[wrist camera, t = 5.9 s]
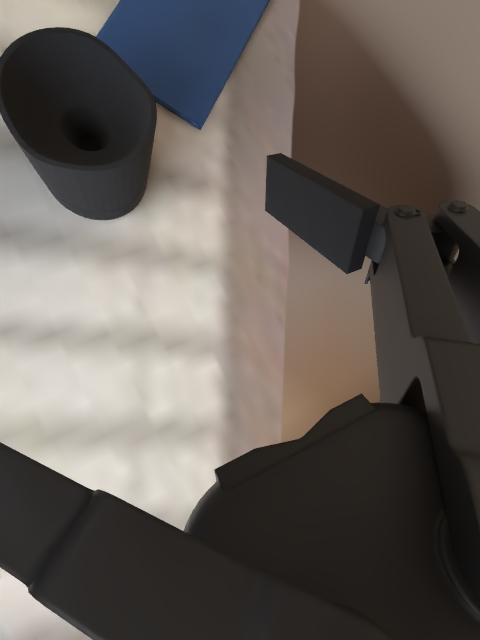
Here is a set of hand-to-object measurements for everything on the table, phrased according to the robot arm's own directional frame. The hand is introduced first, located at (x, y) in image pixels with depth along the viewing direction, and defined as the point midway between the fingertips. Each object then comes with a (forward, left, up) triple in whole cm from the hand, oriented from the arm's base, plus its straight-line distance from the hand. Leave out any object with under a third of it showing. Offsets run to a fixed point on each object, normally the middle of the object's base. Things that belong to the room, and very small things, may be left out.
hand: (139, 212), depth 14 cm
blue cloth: (-7, +27, -17) cm, 33 cm away
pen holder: (-7, +7, -17) cm, 20 cm away
